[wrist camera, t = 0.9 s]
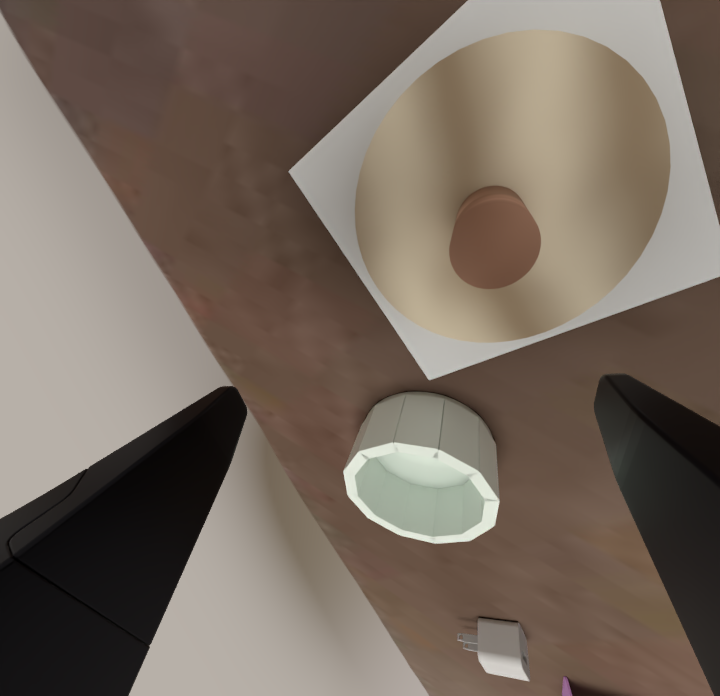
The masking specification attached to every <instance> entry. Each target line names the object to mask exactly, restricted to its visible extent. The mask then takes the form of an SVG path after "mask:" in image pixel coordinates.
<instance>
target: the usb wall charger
mask: <svg viewBox="0 0 720 696" xmlns="http://www.w3.org/2000/svg"><path fill="white" fill-rule="evenodd" d="M460 635H462V636H463V639H462V640H461V639H459V636H460ZM457 640H458V641H462V642H463V649H466V650H470V651H476V652H478V658H479V662H480V663H481V665H482V666H483V668H484V669H485V671H486V672H487V673H490V674H495V675H500V676H505V677H510V678H515V679H520V680H525V681H530V670H529V660H528V650H527V641H526V637H525V634H524V632H523V630H522V628H521V626H520V624H519V623H517V622H509V621H501V620H493V619H485V618H478V636H477V635H471V634H462V633H458V636H457ZM466 643H467V644H468V648H465V644H466Z"/></svg>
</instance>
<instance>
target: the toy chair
mask: <svg viewBox="0 0 720 696" xmlns="http://www.w3.org/2000/svg"><path fill="white" fill-rule="evenodd" d="M562 696H572V693H571V689H570V686H569V682H568V679H567V677H566V676H564V677H563V689H562Z"/></svg>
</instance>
